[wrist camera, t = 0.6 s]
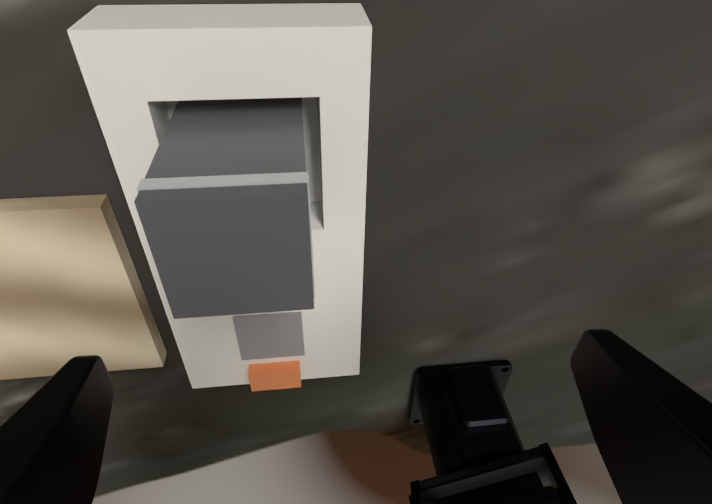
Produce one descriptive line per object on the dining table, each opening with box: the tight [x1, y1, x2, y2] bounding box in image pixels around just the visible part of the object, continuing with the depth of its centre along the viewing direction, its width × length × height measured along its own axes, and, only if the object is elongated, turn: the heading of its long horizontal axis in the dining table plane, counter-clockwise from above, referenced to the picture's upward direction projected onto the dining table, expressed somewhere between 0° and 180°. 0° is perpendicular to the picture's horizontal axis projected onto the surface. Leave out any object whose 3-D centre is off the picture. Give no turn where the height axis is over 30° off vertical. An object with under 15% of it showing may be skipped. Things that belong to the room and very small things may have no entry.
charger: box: [134, 97, 315, 319], centre depth 16 cm, size 4×4×7 cm
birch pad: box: [0, 194, 167, 380], centre depth 23 cm, size 11×11×1 cm
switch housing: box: [67, 3, 372, 391], centre depth 21 cm, size 18×9×4 cm, turn 179°
